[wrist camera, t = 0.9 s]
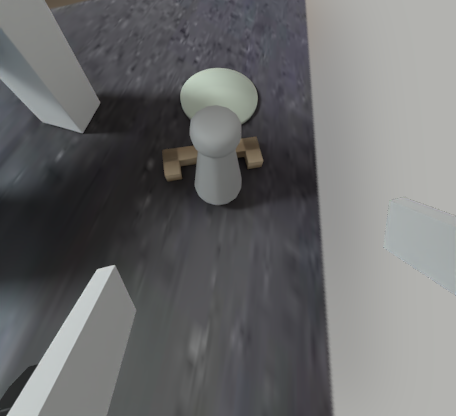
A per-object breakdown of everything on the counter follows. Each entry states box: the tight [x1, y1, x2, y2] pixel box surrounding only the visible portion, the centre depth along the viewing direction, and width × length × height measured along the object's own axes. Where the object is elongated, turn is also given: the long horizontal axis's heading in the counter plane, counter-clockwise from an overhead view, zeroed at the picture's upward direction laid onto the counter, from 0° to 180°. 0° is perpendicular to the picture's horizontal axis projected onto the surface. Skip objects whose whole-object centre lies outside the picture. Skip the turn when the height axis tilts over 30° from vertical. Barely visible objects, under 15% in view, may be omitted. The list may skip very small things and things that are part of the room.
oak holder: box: [162, 137, 263, 181], centre depth 30 cm, size 4×13×2 cm, turn 101°
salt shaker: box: [190, 105, 242, 205], centre depth 23 cm, size 6×6×13 cm
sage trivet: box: [180, 68, 258, 125], centre depth 34 cm, size 12×12×1 cm
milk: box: [0, 0, 100, 133], centre depth 22 cm, size 6×6×22 cm
